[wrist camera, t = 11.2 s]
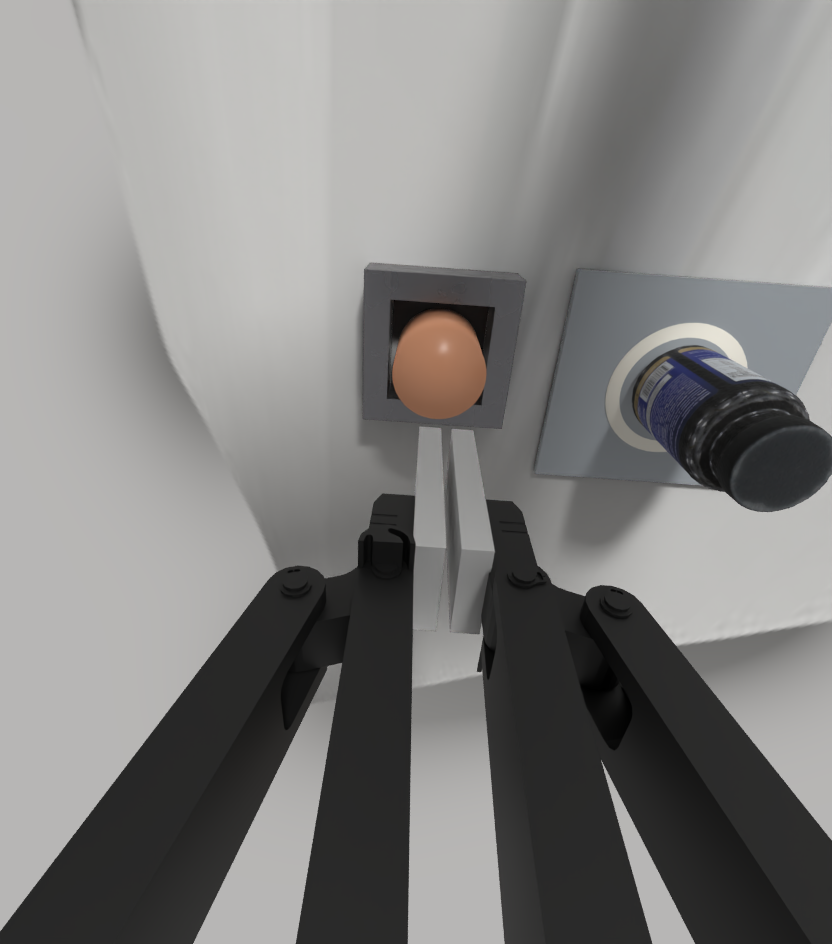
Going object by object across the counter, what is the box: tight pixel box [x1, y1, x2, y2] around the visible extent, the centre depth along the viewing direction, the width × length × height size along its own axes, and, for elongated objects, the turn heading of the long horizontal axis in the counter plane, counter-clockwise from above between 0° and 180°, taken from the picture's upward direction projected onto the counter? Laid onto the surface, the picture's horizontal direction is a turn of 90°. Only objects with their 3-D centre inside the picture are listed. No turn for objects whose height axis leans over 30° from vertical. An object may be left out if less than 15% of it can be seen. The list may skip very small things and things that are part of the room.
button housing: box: [363, 263, 526, 429], centre depth 30 cm, size 9×9×3 cm
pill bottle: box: [632, 345, 832, 512], centre depth 27 cm, size 6×6×11 cm
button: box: [392, 308, 486, 419], centre depth 28 cm, size 5×5×5 cm
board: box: [534, 269, 832, 485], centre depth 32 cm, size 14×16×1 cm
